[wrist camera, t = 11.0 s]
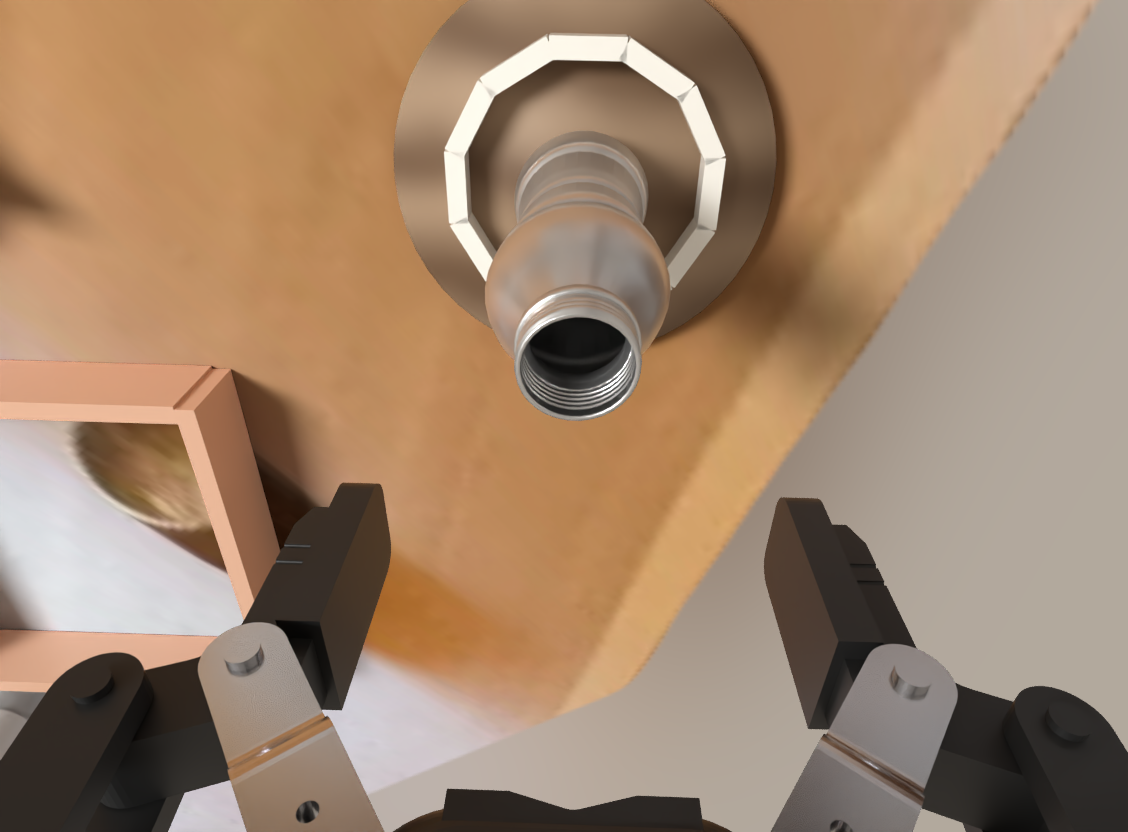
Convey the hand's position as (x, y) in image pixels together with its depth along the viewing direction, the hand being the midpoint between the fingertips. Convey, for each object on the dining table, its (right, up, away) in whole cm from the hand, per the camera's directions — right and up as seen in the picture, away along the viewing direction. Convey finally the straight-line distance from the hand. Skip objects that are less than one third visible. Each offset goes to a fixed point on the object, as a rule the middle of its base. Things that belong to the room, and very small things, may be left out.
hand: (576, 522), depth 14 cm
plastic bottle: (+1, +14, +23) cm, 27 cm away
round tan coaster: (+1, +15, +24) cm, 28 cm away
